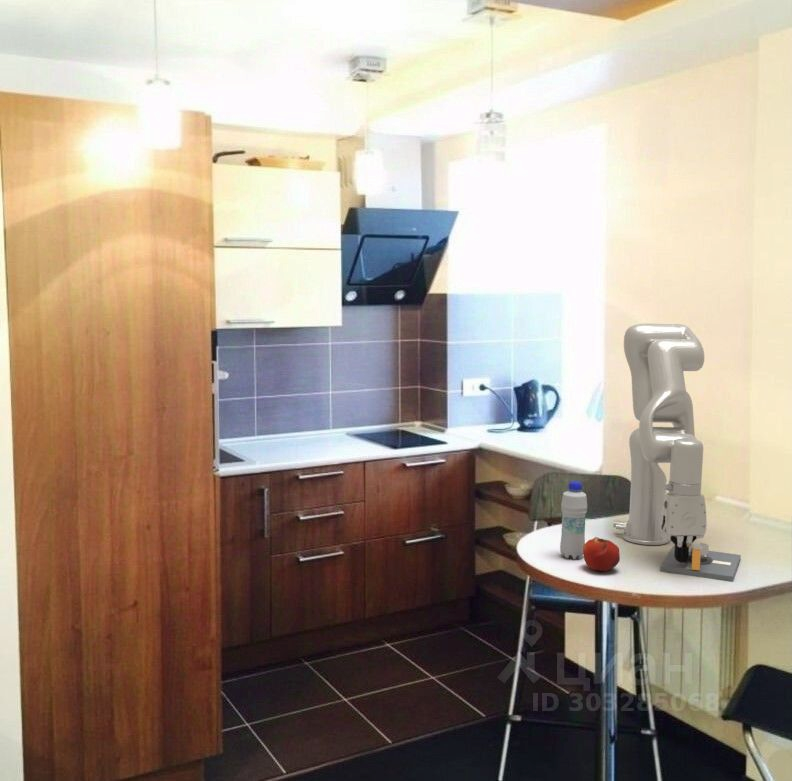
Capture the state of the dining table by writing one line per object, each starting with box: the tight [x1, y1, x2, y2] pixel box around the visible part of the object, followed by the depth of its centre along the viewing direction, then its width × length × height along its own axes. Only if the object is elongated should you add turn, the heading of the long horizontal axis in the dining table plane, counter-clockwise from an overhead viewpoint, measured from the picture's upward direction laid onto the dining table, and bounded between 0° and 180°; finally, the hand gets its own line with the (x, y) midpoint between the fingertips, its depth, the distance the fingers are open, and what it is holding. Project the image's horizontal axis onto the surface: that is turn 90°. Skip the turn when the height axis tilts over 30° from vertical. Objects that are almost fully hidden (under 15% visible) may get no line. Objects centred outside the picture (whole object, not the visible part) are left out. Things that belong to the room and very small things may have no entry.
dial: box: [687, 541, 710, 570], centre depth 230 cm, size 13×6×5 cm, turn 162°
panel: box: [659, 545, 742, 582], centre depth 233 cm, size 17×20×2 cm
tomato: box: [583, 536, 621, 572], centre depth 228 cm, size 9×9×8 cm
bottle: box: [559, 480, 588, 560], centre depth 237 cm, size 7×7×20 cm
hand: (681, 561), depth 228 cm, fingers closed
